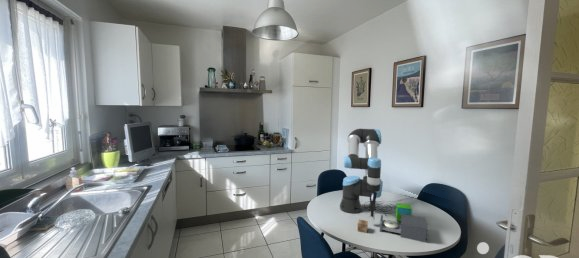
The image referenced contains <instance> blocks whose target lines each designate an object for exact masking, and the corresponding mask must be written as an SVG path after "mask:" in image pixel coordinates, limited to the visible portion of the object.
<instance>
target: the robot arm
mask: <svg viewBox="0 0 579 258" xmlns="http://www.w3.org/2000/svg"><path fill="white" fill-rule="evenodd" d="M347 143H348V145H347V146H348V147H347V156H345V157H344V158H343V167H344V168H345V169H351V170H352V169H356V170H365V171H364V176H363V178H361V177H360V176H358V175H349V176H345V177H344V178H343V179H342V180H343V181H342V199H341V200H340V203H339V209H340V210H341V211H343V212H345V213H347V214H358V213H361V212H362V204H361V201H360V197H366V198H369V209H368V211H369V221H370V222H372V223H373V222H375V214H376V211H377V208H376V201H377V199H379V198H380V197H382V192H383V186H384V185H383V181H382V178H381V171H382V159H380V158H378V148H379V147H380V145H381V144H382V133H381V130H380V129H377V128H356V129H354V130H352V131H351V132H350V133H349V134H348V136H347ZM360 144H363V147H365V157H359V156H360V155H359V154H360Z"/></svg>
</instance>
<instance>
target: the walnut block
mask: <svg viewBox="0 0 579 258" xmlns="http://www.w3.org/2000/svg"><path fill="white" fill-rule="evenodd" d="M368 222H369V221H368V220H364V219H359V220H358V221H357V232H360V233H364V234H367V233H368V226H369V225H368Z"/></svg>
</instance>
